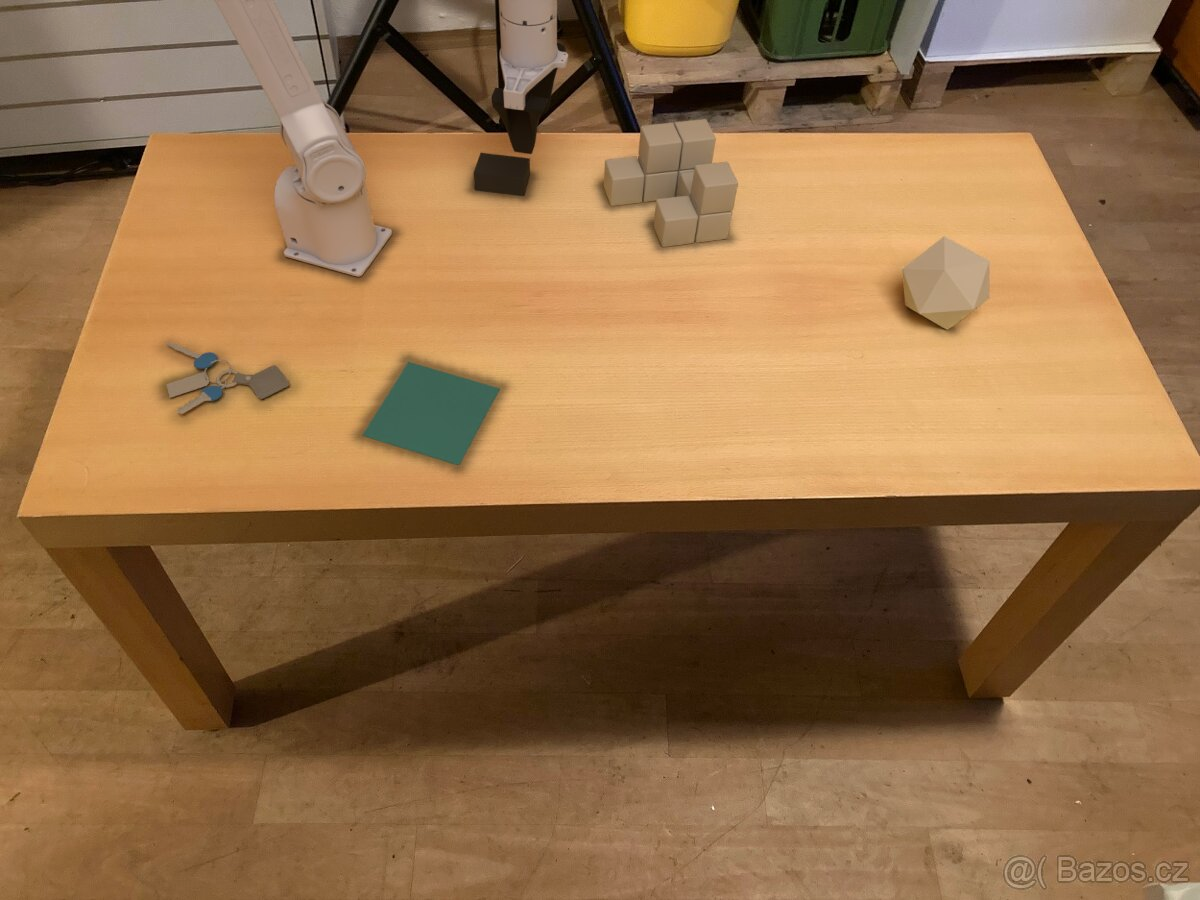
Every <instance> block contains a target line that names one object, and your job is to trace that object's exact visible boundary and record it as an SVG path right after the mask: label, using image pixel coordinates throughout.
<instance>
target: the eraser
mask: <svg viewBox="0 0 1200 900" xmlns="http://www.w3.org/2000/svg"><path fill="white" fill-rule="evenodd" d="M530 177H531V158H530V157H523V156H513V155H505V154H497V153H486V152H480V153H479V156H478V159H477V162H476V165H475V168H474V170H473V183H474V191H479V192H486V193H487V192H488V193H495V194H504V195H512V196H522V197H525V195H526V192H527V188H528V185H529V181H530Z"/></svg>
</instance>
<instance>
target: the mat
mask: <svg viewBox="0 0 1200 900" xmlns="http://www.w3.org/2000/svg"><path fill="white" fill-rule="evenodd" d="M500 390H501V388H500V387H498V386H497V387H496V386H493V385H490V384H487V383H483V382H479V381H477V380H473V379H470V378H467V377H463V376H460V375H456V374H452V373H450V372H445V371H443V370H438V369H435V368H431V367H429V366H426V365H425V366H424V365H422V364H417V363H414V362H412V361H407V363H406V365H405V366H404V368H403V369H402V371H401V373H400V374H399V376H398V377H397V379H396V380H395V382H394V384H393V385H392V387H391V389H390V390H389V391H388V394H387V395H386V397H385V398H384V399H383V402H382V403H381V405H379V408H378V410H377V411H376V412H375V414H374V416H373V418H372V419H371V420H370V422H369V424H368V426H367V427H366V428H365V430H364V431H363V433H362V437H365V438H368V439H372V440H375V441H378V442H381V443H383V444H384V443H385V444H387V445H391V446H393V447H397V448H401V449H404V450H406V451H407V450H408V451H410V452H414V453H416V454H420V455H423V456H425V457H426V456H427V457H430V458H433V459H435V460H439V461H443V462H445V463H449V464H452V465H456V466H460V465H461V463H462V462H463V459H464V457H465V455H466V454H467V452H468V450H469V448H470V446H471V445H472V443H473V440H474V439H475V438H476V435H477V433H478V431H479V429H480V427H481V425H482V423H483V422H484V420H485V418H486V416H487V414H488V412H489V411H490V408H491V407H492V405H493V403H494V401H495V400H496V398H497V396H498V393H499V392H500Z"/></svg>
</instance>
